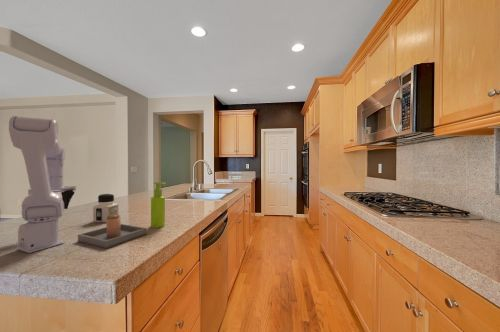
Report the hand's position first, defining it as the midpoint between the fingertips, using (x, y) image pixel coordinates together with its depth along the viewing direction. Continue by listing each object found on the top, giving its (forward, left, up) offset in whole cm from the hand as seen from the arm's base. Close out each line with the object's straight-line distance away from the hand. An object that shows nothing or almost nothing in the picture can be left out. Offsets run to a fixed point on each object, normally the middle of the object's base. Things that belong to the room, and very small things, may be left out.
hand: (53, 210), depth 86 cm
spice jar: (+7, -26, -9) cm, 28 cm away
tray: (+7, -26, -9) cm, 29 cm away
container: (+22, +2, -10) cm, 24 cm away
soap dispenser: (+26, -29, -10) cm, 40 cm away
